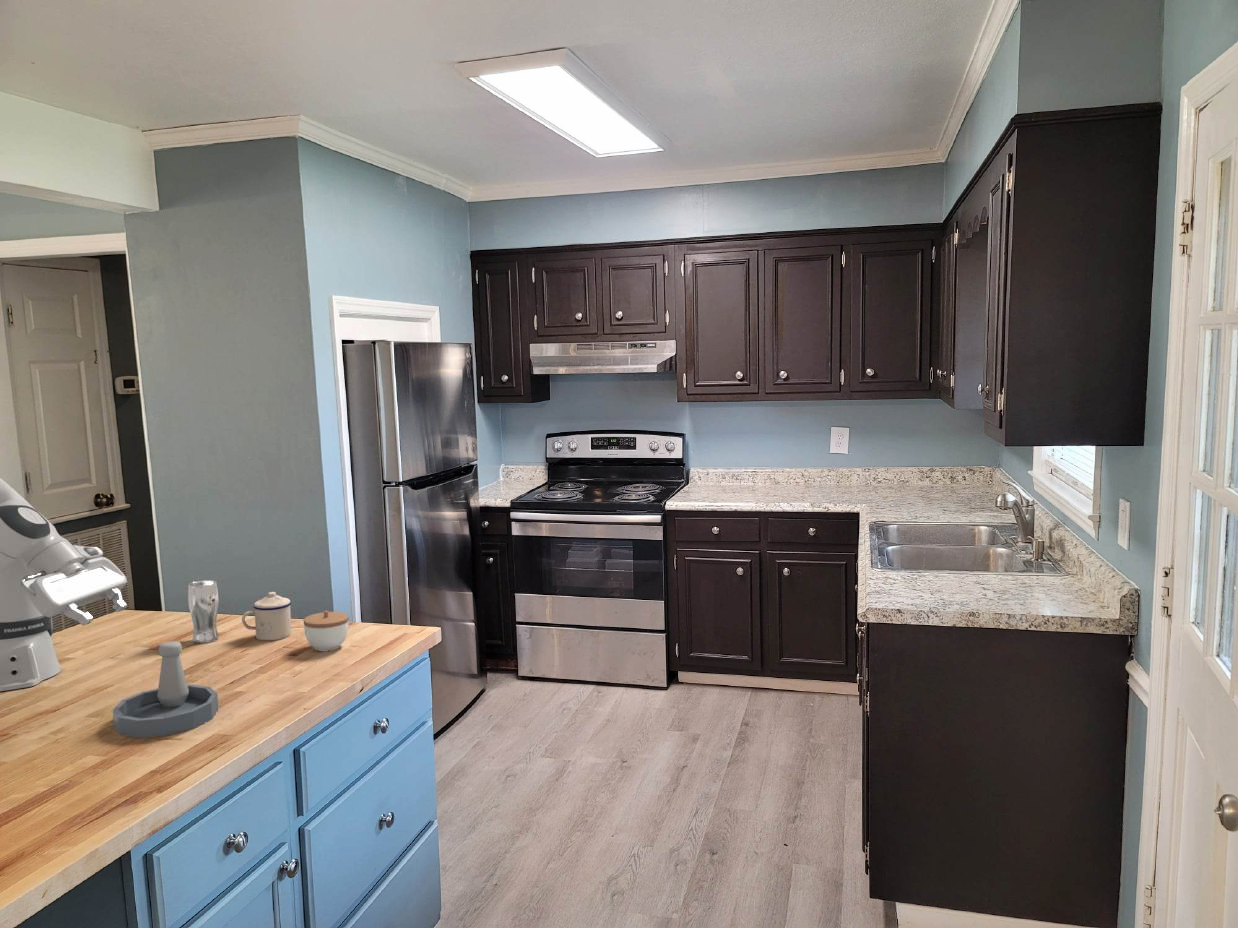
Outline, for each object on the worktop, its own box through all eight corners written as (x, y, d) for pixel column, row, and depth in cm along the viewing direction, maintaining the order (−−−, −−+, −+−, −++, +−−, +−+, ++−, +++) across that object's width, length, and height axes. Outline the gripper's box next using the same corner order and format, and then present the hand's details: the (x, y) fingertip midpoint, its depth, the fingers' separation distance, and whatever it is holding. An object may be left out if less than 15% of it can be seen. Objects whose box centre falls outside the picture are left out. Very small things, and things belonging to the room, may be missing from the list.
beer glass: (208, 644, 217) (205, 587, 216) (184, 643, 219) (181, 585, 217) (226, 636, 224) (223, 580, 222) (203, 634, 225) (199, 579, 224)
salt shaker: (166, 698, 179) (162, 638, 178) (194, 698, 180) (190, 638, 178) (152, 709, 174) (148, 647, 172) (181, 709, 174) (177, 647, 172)
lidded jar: (319, 639, 222) (318, 604, 220) (357, 642, 219) (356, 606, 218) (296, 652, 211) (294, 615, 210) (335, 655, 209) (334, 618, 208)
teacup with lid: (291, 628, 231) (289, 586, 229) (293, 638, 222) (291, 594, 221) (243, 634, 226) (240, 591, 225) (242, 644, 218) (240, 599, 216)
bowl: (127, 745, 159) (126, 727, 159) (106, 716, 173) (105, 700, 172) (228, 719, 171) (227, 702, 171) (201, 694, 184) (200, 678, 184)
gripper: (25, 568, 161) (76, 620, 161) (104, 545, 181) (149, 592, 181) (6, 590, 162) (56, 642, 162) (87, 565, 182) (131, 611, 182)
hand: (106, 615), depth 172 cm, fingers open, 8 cm apart
